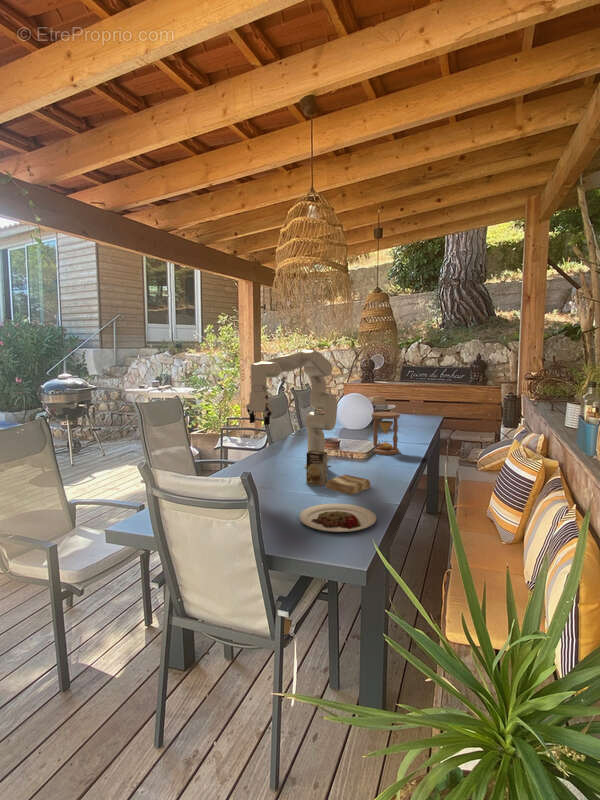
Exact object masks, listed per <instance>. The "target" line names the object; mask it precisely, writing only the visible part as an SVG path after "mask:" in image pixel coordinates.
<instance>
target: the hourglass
mask: <svg viewBox="0 0 600 800" xmlns="http://www.w3.org/2000/svg"><path fill="white" fill-rule="evenodd" d="M400 416H401V415H400V413H398V412H394V411H393V412H392V411H377V412H376V411H375V412H372V413H371V418H373V424H372V425H373V426H372V427H373V428H372V429H373V432H374V433H373V435H372V436H373V437H372V438H373V439H372V440H373V447H374V446H376V447H377V446H379V447H377V448H376V449H375V450H374V453H375V454H374V453H373V454H374V455H381V456H393V455H398V454H399V453H400V449H399V448H398V440H399V438H398V434H397V433H398V430H399V425H398V419H399V418H400ZM378 419H379V420H378ZM391 420H393V421H391ZM392 425H393V426H392ZM379 426H380V428H381V429H382V430H383V432H384V435H387V433H388V431H389V430H390V428H391V427H392V430H393V437H392V442H393V443H392V444H391V443H388V442H387V441H384V442H381V443H379V444H378V439H379V436H378V428H379Z"/></svg>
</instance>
